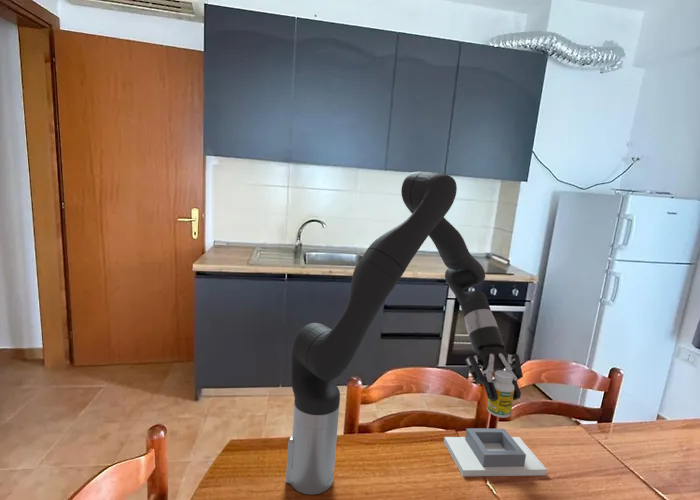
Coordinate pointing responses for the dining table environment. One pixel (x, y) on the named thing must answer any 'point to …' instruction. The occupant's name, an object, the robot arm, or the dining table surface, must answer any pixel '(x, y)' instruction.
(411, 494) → the dining table surface
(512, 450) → the collar board
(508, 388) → the supplement bottle
